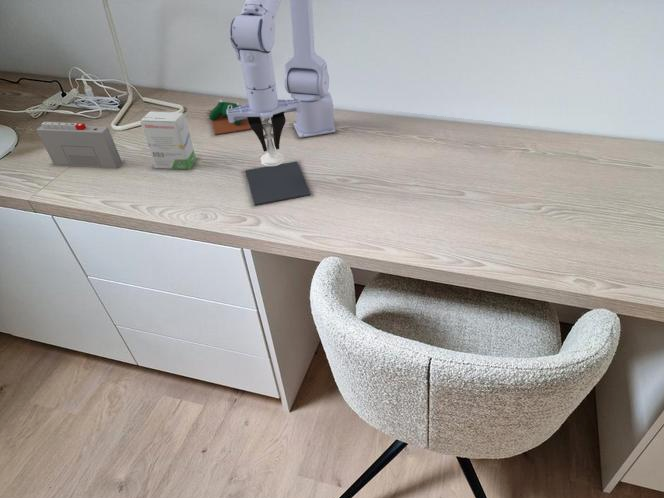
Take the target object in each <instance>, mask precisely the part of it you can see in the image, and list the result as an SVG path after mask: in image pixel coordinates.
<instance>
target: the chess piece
mask: <svg viewBox="0 0 664 498" xmlns="http://www.w3.org/2000/svg"><path fill="white" fill-rule="evenodd" d="M269 121H271V118H264V119H263V120H262V125H263V132H264V133H265V134H264V139H265V140H266V147H267V151H266V153H264V154H262V156H261V157H260V164H262V165H263V166H264V167H267V166H277V165H280V164H284V161H285V157H284V155H283V153H281V152H279V151H277V150H276V148H275V145H274V141H273V139H274V135H273V132H272V131H273V128H272V123H270V122H269Z"/></svg>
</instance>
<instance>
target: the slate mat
mask: <svg viewBox="0 0 664 498" xmlns="http://www.w3.org/2000/svg"><path fill="white" fill-rule="evenodd" d="M244 172H245V175H246V179H247V182H248V183H247V184H248V186H249V190H250V194H251V197H252V200H253V201H252V202H253V204H254V205H253V206H255V207H257V206H263V205H267V204H272V203H276V202H281V201H288V200H292V199H298V198H303V197H307V196H308V197H309V196H311V195H312V194H311V192H310V189H309V187H308V185H307V182H306V180H305V178H304V175H303V173H302V170H301V168H300V166H299V163H298V161H290V162H285V163H281V164H280V165H277V166H262V167H257V168H251V169H245V171H244Z"/></svg>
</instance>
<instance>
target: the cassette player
mask: <svg viewBox="0 0 664 498" xmlns="http://www.w3.org/2000/svg"><path fill="white" fill-rule="evenodd" d="M36 132H37V135H38V136H39V138H40V141H41V142H42V144H43V146H44V148H45V150H46V152H47V154H48V155H49V158H50V160H51V162H52V164H53V166H65V167H67V166H68V167H70V166H71V167H87V168H102V169H103V168H106V169H118V168H119V166H120V165H121V164H122V163H123V161H122V158H121V156H120V153H119V151H118V148H117V146H116V143H115V141H114V139H113V135H112V134H111V131H110V128H109V127H108V126H95V125H94V126H93V125H86V124H85V123H83V122H82V123H79V122H59V121H58V122H57V121H43V122H42V123H41V125H40V126H39V127H37V129H36Z"/></svg>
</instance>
